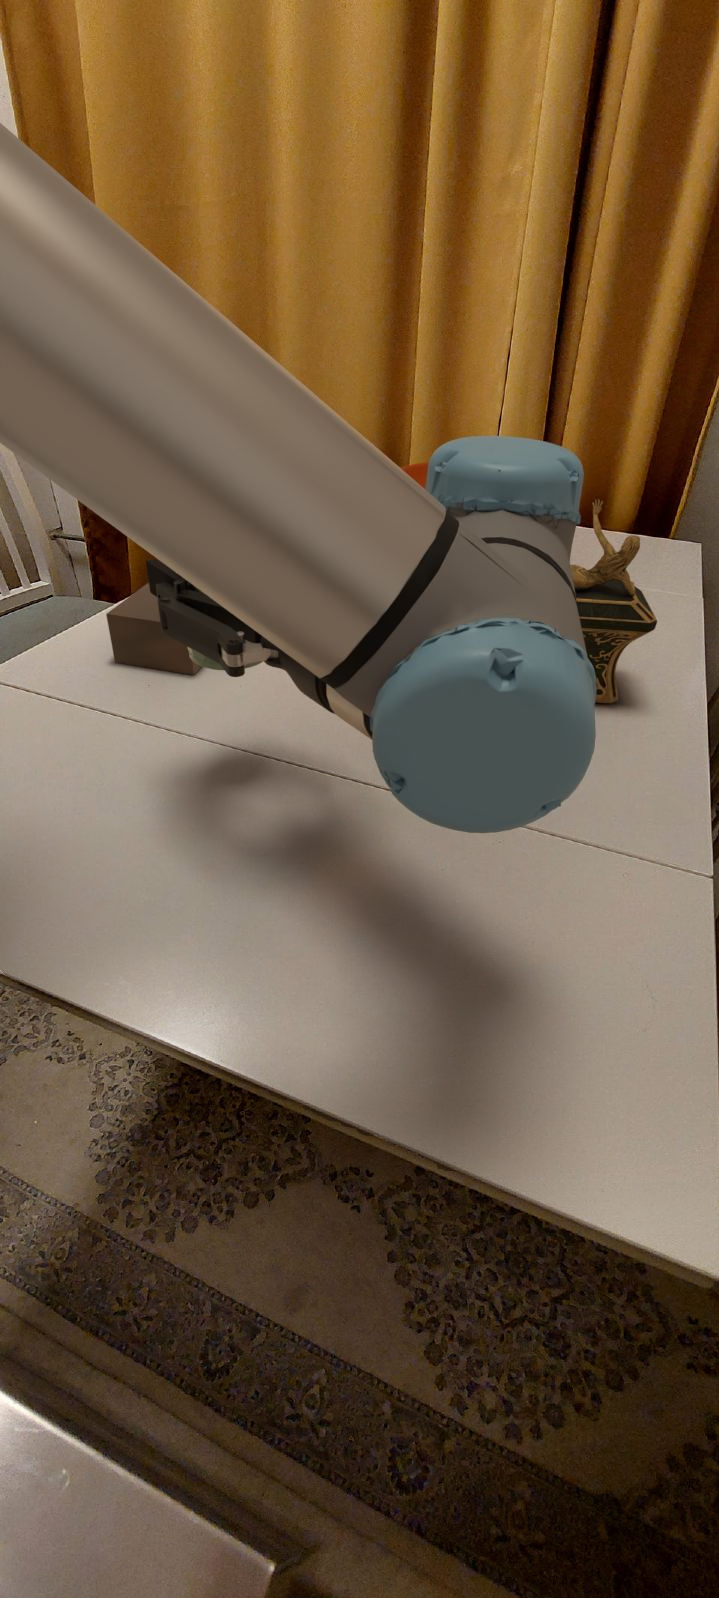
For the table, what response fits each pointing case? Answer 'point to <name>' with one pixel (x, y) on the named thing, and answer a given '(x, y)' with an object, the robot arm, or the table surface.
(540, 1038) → the table surface
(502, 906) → the table surface
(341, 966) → the table surface
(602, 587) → the decorative box
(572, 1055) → the table surface
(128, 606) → the block
